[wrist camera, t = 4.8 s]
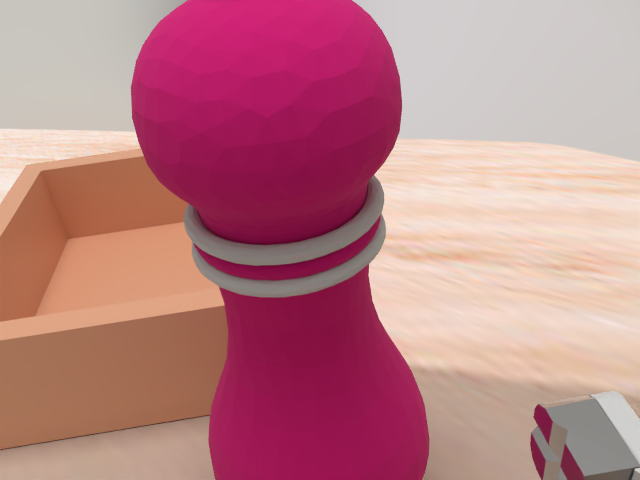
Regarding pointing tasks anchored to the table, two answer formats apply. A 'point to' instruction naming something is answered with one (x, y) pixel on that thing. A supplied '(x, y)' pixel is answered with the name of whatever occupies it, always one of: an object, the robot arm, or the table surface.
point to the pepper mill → (287, 228)
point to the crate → (101, 303)
